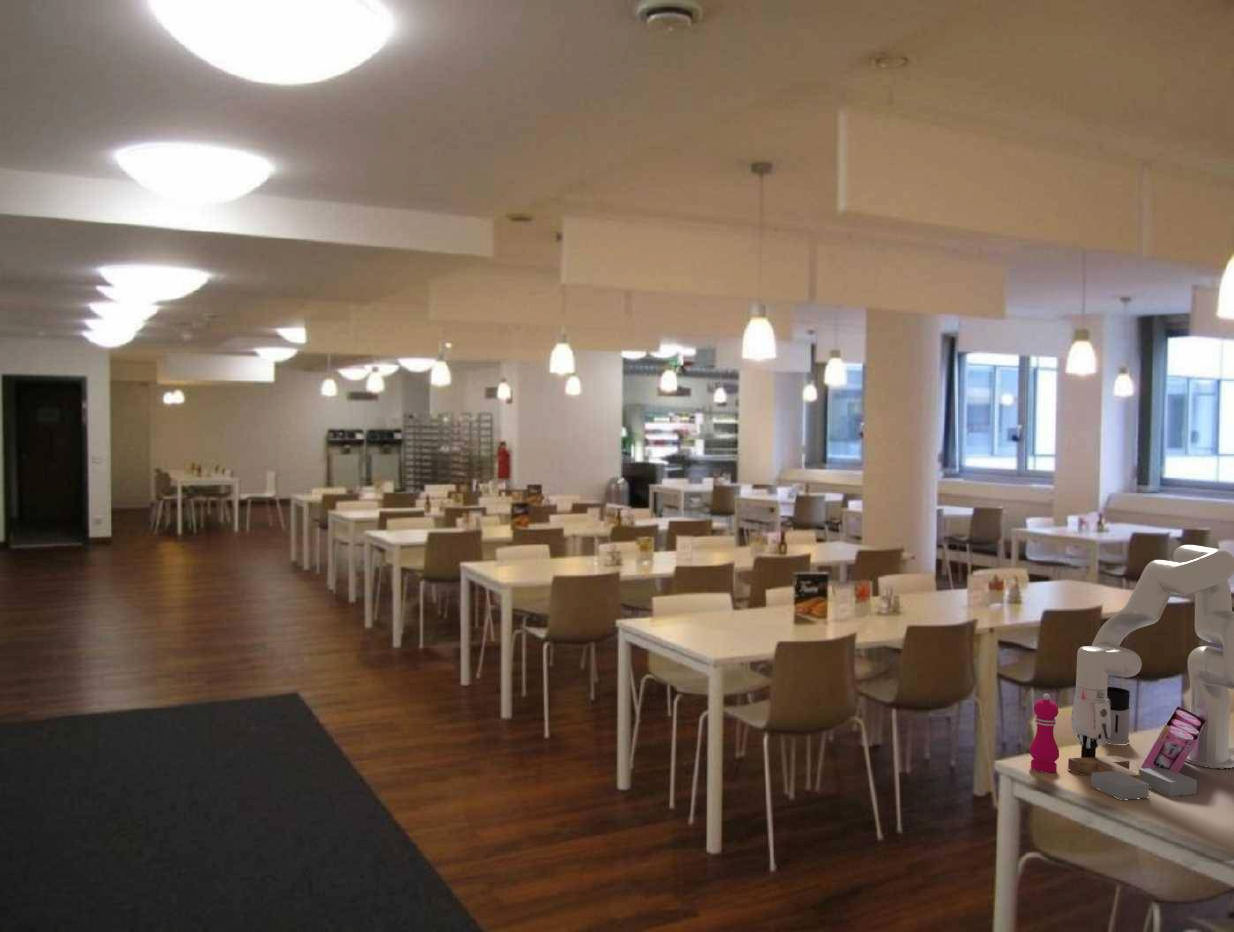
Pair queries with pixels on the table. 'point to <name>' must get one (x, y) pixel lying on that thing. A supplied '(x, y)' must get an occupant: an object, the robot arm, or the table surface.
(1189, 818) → the table surface
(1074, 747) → the table surface
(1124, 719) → the white and black cylinder
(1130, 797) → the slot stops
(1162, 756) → the gum box
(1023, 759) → the table surface
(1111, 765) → the t block
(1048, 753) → the pepper mill
